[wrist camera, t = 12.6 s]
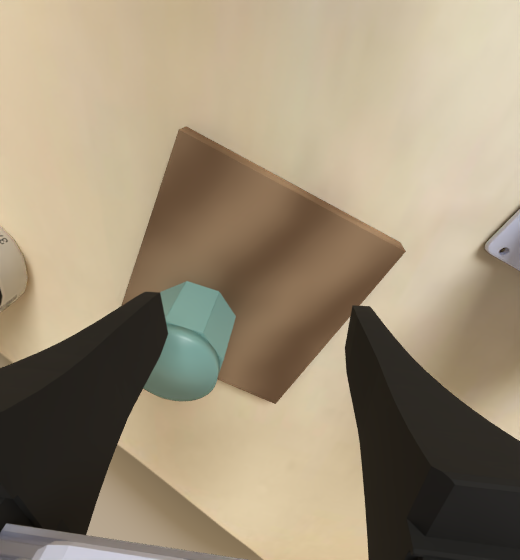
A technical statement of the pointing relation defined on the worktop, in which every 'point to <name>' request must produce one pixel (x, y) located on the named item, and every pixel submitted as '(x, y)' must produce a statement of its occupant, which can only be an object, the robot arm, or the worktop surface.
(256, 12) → the worktop surface
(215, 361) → the cap
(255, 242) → the stud board
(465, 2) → the worktop surface
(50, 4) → the worktop surface
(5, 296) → the supplement can
